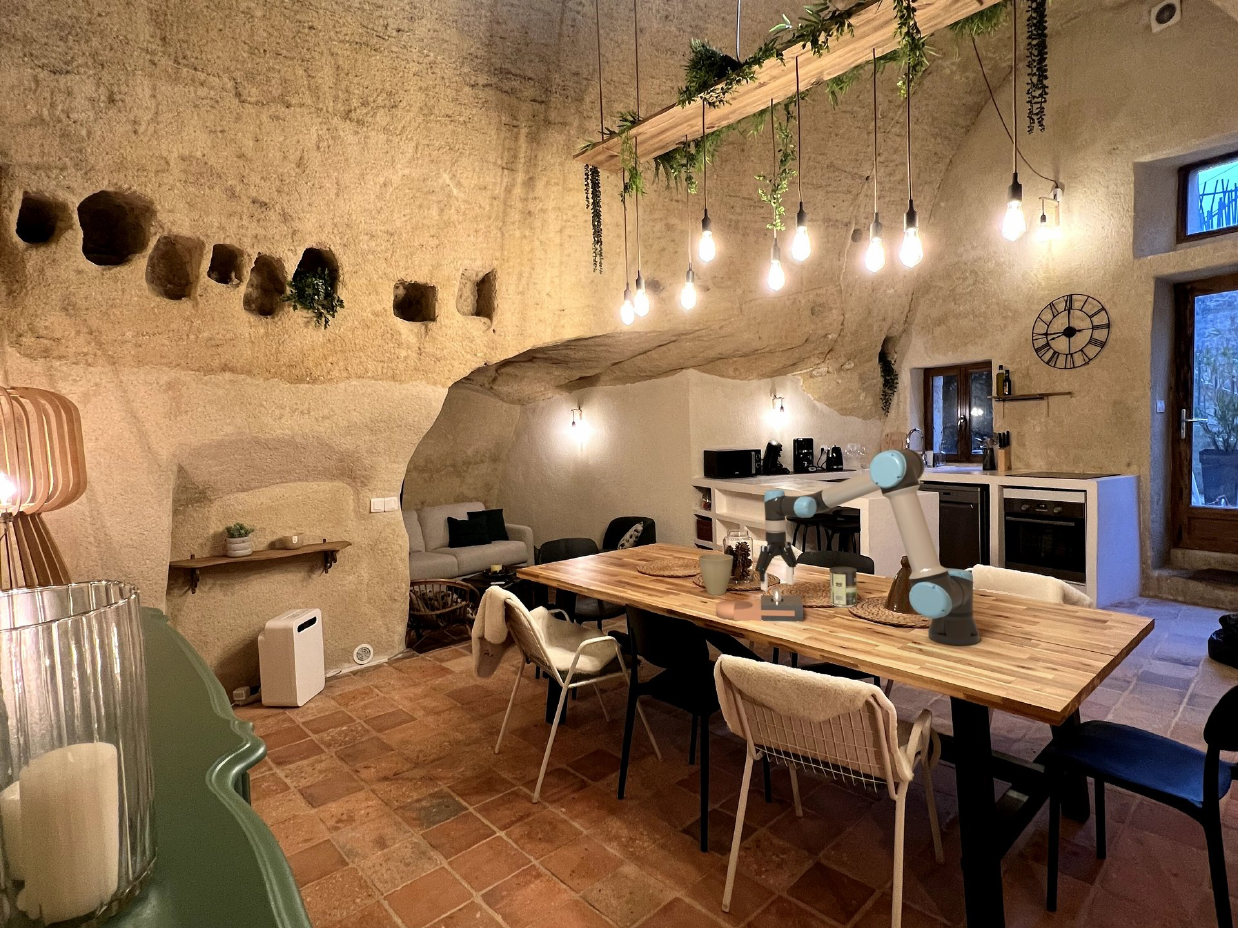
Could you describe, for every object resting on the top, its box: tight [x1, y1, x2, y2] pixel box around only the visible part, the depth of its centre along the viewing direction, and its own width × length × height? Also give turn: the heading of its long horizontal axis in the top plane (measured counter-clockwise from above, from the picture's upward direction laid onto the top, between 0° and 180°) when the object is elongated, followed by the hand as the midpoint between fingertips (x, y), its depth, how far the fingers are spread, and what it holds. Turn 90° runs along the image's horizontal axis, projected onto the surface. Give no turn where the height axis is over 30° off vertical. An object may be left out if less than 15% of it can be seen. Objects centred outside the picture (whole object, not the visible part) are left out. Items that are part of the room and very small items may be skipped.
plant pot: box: [698, 553, 734, 596], centre depth 299 cm, size 15×15×16 cm
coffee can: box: [829, 566, 858, 608], centre depth 274 cm, size 10×10×14 cm
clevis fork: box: [760, 594, 804, 623], centre depth 261 cm, size 14×15×6 cm
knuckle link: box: [715, 599, 795, 622], centre depth 263 cm, size 14×29×4 cm, turn 78°
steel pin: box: [772, 588, 782, 602], centre depth 261 cm, size 3×3×10 cm
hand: (777, 587), depth 261 cm, fingers open, 13 cm apart
